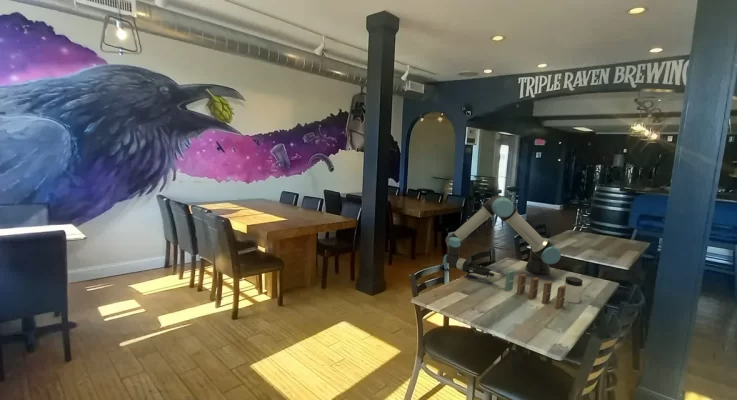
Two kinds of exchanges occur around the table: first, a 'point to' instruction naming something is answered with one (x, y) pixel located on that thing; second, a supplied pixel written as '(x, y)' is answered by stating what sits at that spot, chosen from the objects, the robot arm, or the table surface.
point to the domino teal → (509, 280)
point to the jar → (573, 289)
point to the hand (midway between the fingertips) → (499, 276)
